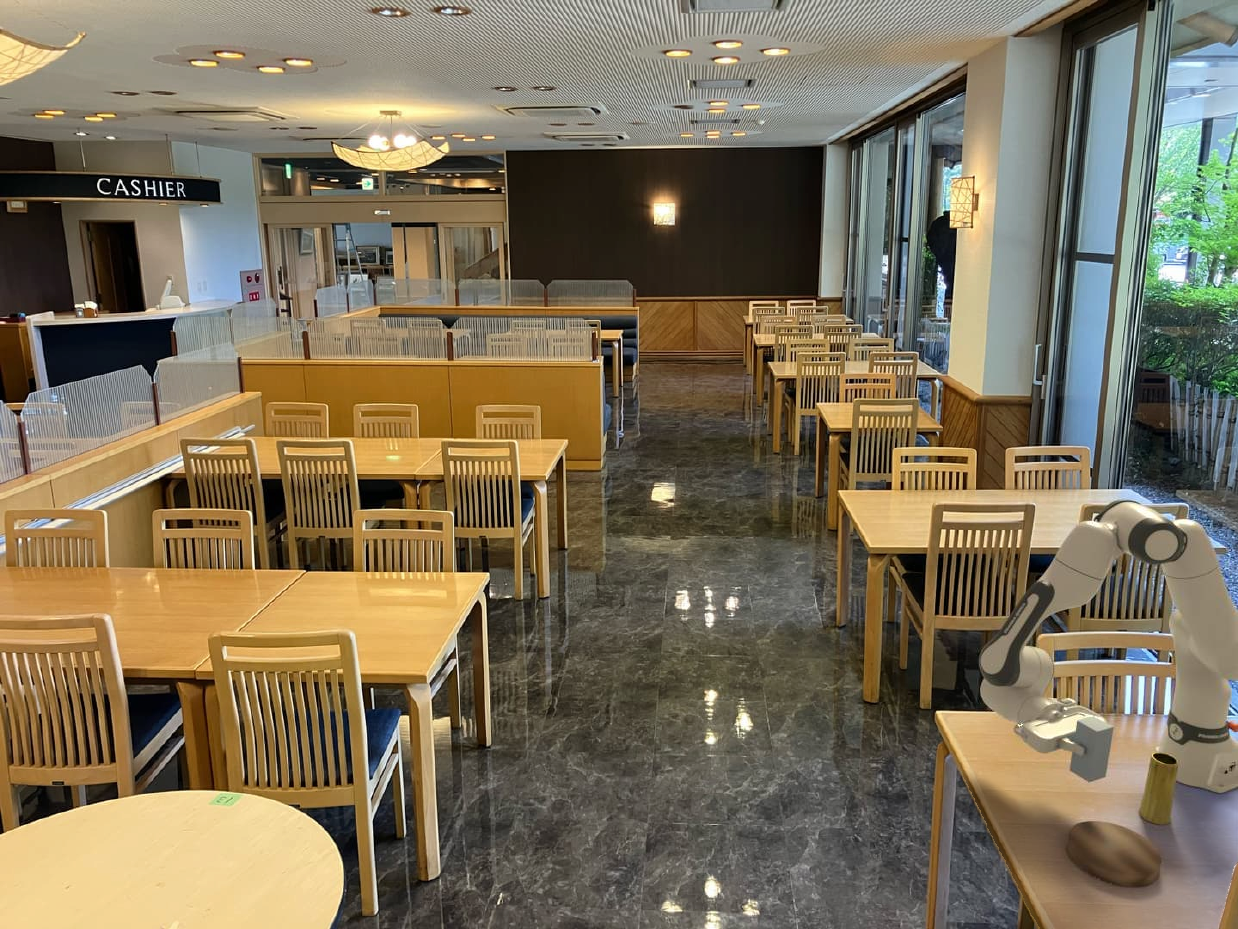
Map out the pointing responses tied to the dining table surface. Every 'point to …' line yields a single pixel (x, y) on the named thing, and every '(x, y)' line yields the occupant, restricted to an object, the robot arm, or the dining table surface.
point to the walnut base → (1113, 854)
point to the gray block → (1092, 748)
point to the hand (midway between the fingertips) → (1095, 748)
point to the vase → (1159, 788)
